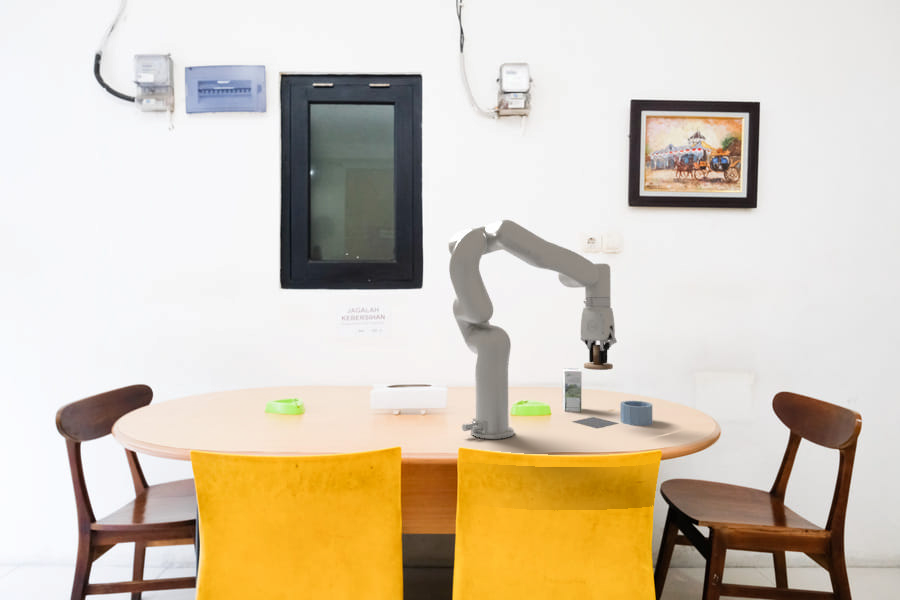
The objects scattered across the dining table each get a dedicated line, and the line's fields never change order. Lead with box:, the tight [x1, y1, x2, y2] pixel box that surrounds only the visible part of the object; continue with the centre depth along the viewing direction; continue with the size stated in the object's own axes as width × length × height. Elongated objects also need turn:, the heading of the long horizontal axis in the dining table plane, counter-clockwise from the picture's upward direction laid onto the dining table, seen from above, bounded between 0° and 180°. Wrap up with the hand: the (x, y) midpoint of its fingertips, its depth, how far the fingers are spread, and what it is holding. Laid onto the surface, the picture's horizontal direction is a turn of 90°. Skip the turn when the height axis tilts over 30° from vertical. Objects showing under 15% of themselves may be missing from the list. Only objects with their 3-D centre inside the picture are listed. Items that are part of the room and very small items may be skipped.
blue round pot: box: [620, 400, 653, 427], centre depth 165 cm, size 9×9×6 cm
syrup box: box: [562, 367, 583, 413], centre depth 182 cm, size 6×6×14 cm
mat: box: [571, 416, 619, 429], centre depth 165 cm, size 10×10×1 cm
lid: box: [583, 344, 614, 371], centre depth 165 cm, size 9×9×7 cm
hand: (598, 361), depth 165 cm, fingers closed on lid, 3 cm apart
